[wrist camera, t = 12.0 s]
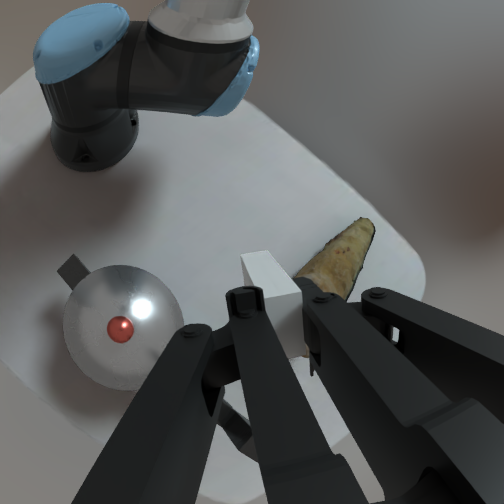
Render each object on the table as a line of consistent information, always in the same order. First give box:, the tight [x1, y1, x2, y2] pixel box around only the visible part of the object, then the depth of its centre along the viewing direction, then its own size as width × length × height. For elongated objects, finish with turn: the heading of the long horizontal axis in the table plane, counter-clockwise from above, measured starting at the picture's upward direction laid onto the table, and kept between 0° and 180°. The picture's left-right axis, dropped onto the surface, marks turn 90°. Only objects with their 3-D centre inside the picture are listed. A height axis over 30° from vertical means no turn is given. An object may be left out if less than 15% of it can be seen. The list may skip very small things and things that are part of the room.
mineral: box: [294, 217, 376, 358], centre depth 47 cm, size 26×9×10 cm
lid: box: [63, 265, 259, 463], centre depth 28 cm, size 27×14×8 cm, turn 49°
